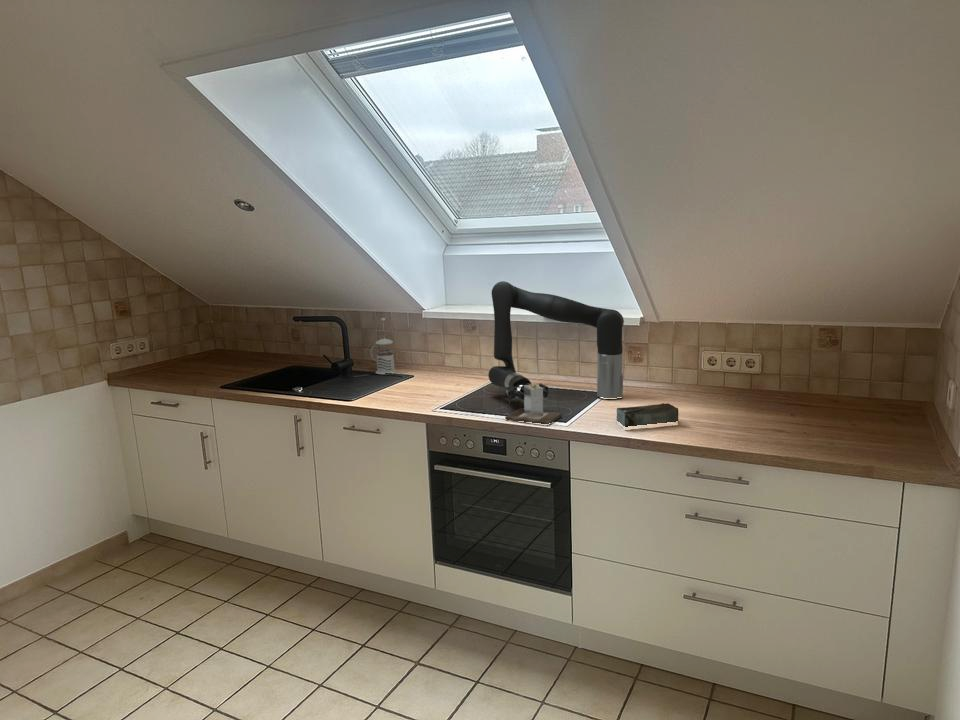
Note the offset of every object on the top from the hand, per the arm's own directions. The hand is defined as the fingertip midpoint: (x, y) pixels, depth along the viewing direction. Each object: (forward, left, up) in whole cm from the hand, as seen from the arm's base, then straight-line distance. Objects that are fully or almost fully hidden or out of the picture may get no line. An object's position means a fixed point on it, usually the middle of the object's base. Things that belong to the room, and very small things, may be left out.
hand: (535, 395), depth 235 cm
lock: (+1, -1, -7) cm, 7 cm away
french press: (+65, -77, -9) cm, 102 cm away
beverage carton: (-37, +8, -9) cm, 39 cm away
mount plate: (0, -1, -8) cm, 9 cm away
